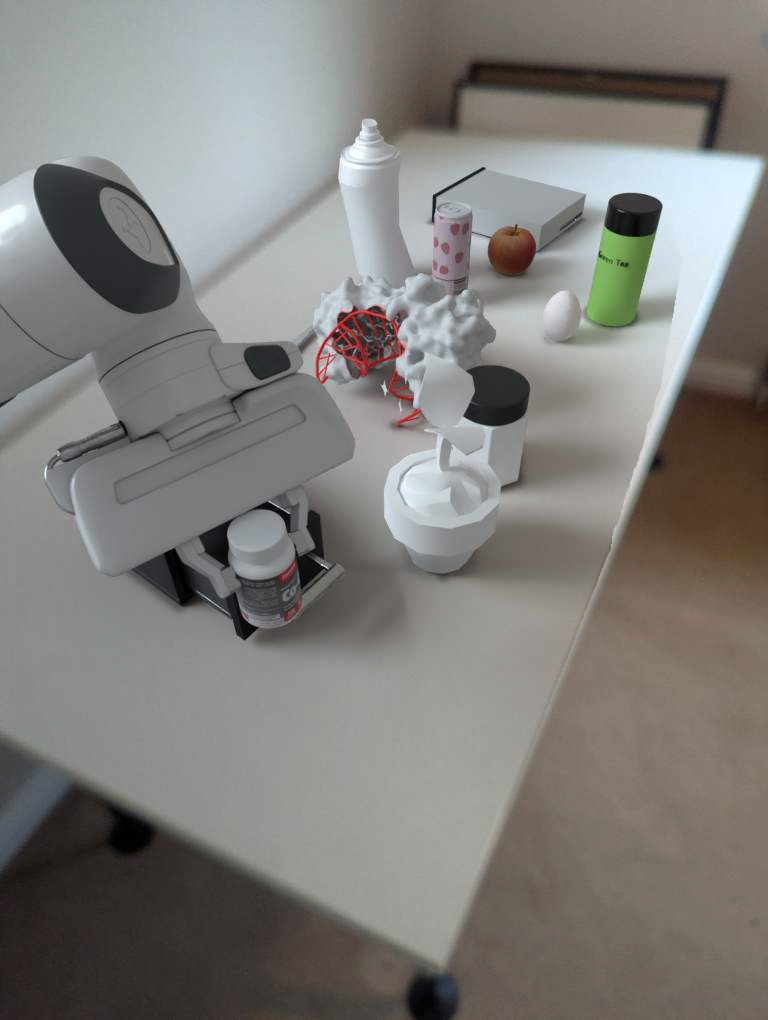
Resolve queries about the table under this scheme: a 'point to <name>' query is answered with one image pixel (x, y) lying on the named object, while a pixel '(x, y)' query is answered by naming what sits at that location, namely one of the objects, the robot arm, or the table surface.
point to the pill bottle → (264, 568)
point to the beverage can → (452, 246)
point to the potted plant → (443, 478)
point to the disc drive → (514, 204)
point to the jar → (499, 418)
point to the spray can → (374, 207)
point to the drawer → (218, 556)
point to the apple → (511, 250)
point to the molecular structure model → (398, 330)
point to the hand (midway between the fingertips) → (269, 572)
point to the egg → (562, 316)
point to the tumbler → (623, 258)
